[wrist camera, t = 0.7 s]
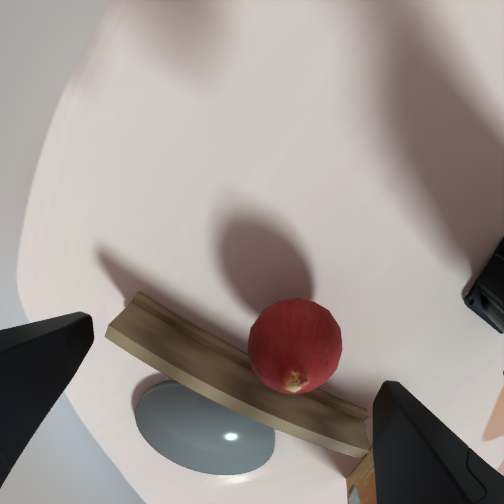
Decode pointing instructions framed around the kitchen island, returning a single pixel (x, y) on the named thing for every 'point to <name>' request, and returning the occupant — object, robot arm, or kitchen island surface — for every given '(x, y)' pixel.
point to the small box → (362, 482)
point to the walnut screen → (234, 378)
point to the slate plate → (202, 431)
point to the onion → (295, 346)
